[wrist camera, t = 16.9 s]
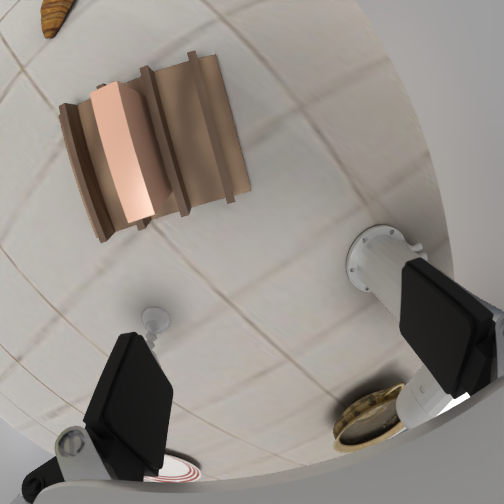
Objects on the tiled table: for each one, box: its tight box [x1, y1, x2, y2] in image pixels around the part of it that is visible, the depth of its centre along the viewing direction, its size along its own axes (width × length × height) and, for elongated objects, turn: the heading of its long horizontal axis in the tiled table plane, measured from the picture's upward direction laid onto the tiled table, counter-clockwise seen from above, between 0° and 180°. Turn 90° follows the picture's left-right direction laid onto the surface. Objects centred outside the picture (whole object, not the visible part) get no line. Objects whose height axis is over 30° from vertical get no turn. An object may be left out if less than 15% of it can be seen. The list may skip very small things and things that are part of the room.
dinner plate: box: [144, 454, 201, 482], centre depth 67 cm, size 27×27×3 cm
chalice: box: [142, 307, 170, 367], centre depth 38 cm, size 7×7×18 cm
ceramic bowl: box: [333, 382, 404, 453], centre depth 60 cm, size 30×24×10 cm
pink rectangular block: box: [90, 81, 173, 223], centre depth 29 cm, size 3×14×12 cm, turn 14°
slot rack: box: [59, 51, 251, 243], centre depth 33 cm, size 24×20×6 cm
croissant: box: [41, 0, 73, 38], centre depth 21 cm, size 14×7×5 cm, turn 173°
